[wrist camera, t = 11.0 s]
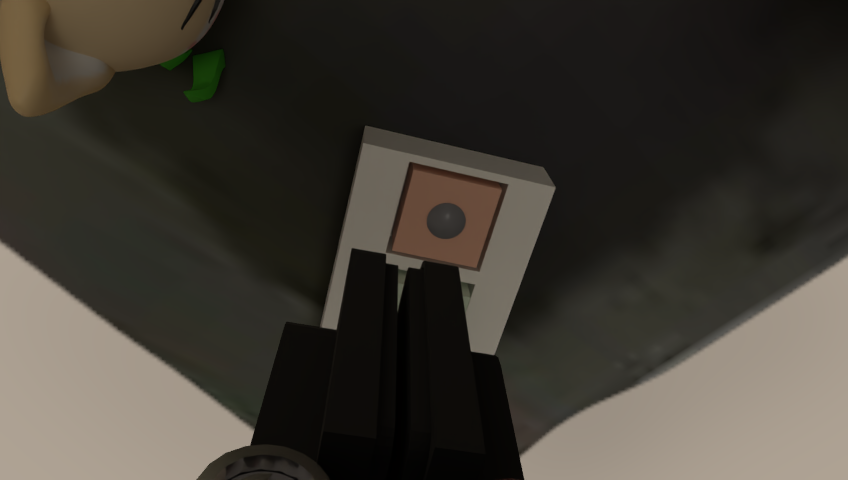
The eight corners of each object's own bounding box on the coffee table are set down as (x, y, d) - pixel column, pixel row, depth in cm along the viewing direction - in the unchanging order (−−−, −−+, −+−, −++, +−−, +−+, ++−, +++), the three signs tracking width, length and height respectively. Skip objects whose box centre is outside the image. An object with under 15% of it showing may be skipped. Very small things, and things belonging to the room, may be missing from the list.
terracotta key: (495, 173, 36) (502, 190, 33) (471, 247, 38) (476, 268, 35) (412, 154, 35) (413, 170, 33) (391, 230, 37) (392, 251, 35)
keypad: (543, 167, 37) (555, 187, 34) (455, 416, 44) (459, 449, 41) (365, 125, 35) (363, 142, 32) (305, 391, 43) (299, 423, 40)
